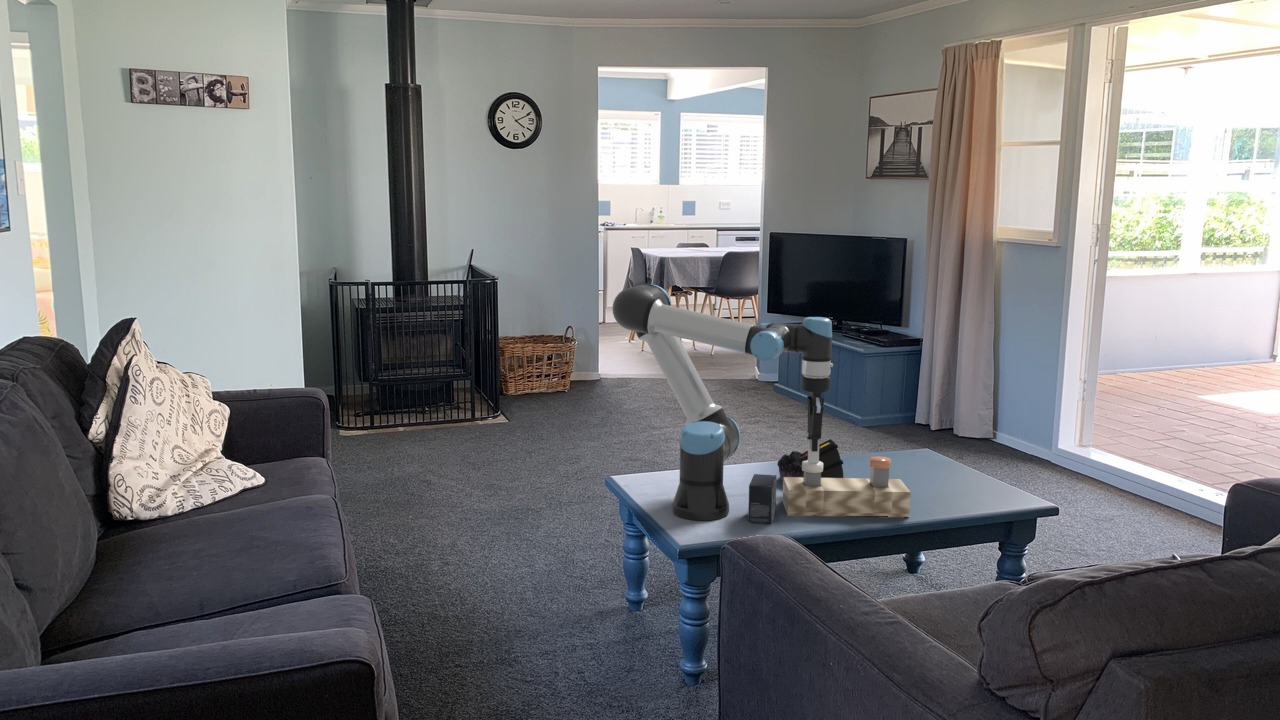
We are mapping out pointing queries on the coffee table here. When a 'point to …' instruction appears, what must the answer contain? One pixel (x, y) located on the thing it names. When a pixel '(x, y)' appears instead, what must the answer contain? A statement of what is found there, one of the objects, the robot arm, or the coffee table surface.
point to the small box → (762, 499)
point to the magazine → (827, 460)
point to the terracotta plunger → (879, 471)
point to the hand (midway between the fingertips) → (813, 461)
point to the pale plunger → (812, 473)
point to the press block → (845, 498)
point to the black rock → (790, 465)
